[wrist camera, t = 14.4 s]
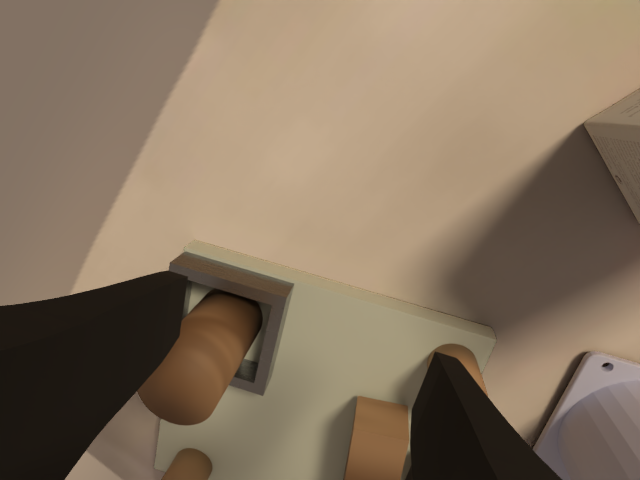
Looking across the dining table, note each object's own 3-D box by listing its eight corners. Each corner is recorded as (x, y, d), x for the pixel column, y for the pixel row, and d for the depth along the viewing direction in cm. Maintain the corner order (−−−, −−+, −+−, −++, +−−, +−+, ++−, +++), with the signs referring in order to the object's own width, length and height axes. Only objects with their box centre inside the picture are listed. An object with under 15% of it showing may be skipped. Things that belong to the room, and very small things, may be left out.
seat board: (491, 327, 21) (512, 376, 18) (399, 533, 27) (400, 604, 23) (194, 239, 23) (155, 267, 19) (163, 453, 28) (127, 508, 24)
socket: (294, 283, 21) (286, 298, 20) (271, 376, 23) (263, 396, 22) (185, 251, 21) (169, 262, 20) (172, 345, 23) (157, 362, 22)
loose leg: (269, 298, 21) (224, 371, 16) (254, 351, 23) (208, 436, 17) (207, 276, 22) (140, 341, 16) (196, 330, 23) (130, 408, 17)
